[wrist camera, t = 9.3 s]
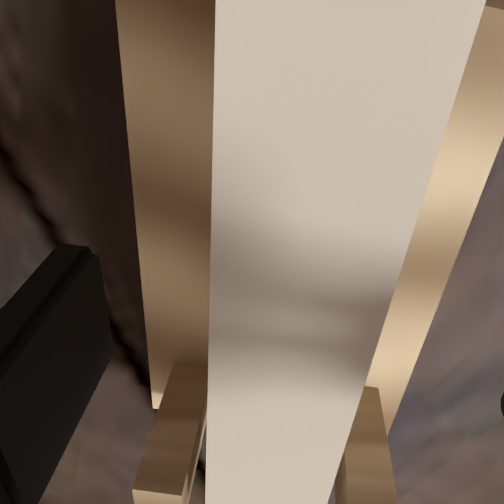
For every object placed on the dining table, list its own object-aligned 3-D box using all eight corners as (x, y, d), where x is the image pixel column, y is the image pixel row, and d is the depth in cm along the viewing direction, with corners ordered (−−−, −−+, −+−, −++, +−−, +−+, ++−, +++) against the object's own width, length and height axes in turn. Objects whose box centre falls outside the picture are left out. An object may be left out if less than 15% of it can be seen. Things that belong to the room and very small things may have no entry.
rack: (113, -199, 9) (-103, -383, 4) (597, -169, 9) (968, -336, 4) (159, 389, 20) (110, 533, 15) (382, 417, 19) (410, 575, 14)
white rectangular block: (257, -105, 9) (219, -160, 5) (426, -92, 9) (528, -137, 5) (227, 394, 18) (204, 523, 14) (313, 405, 18) (315, 539, 14)
